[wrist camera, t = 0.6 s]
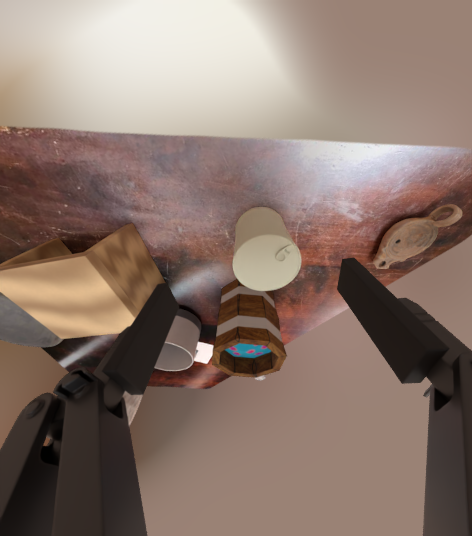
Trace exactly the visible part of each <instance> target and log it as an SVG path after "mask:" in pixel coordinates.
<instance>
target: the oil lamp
mask: <svg viewBox="0 0 472 536" xmlns="http://www.w3.org/2000/svg"><path fill="white" fill-rule="evenodd" d="M449 211H453V214H452V215H451V216H450V217H448V218H447V219H445V220H440V221H436V219H437V218H438V217H439V216H440V215H442V214H443V213H446V212H449ZM461 216H462V210H461V209H460V208H459V207H457V206H456V205H452V204H451V205H450V204H448V205H444V206H441V207H439V208H437V209H436V210H434V211H433V212H432V213H430V214H429V215H428V217H425V218H409V219H405V220H402V221H400V222H398V223H396V224H395V225H393V226H392V227H391V228H390V229H389V230H388V231H387V232H386V233H385V235H384V237H383V238H382V241H381V243H380V246H379V249H378V252H377V254H376V256H375V258H374V260H373V263H374V265H375V267H376V268H378V269H387V268H389V265H390V264H391V263H393V262H396V261H400V262H403V261H404V260H405V259H406V258H409V257H412V256H414V255H417V254H419V253H420V252H422V251H424V250H425V249H426V248H428V247H429V246H430V245H431V244H432V242H433V241H434V240H435V239H436V237H437V234H438V227H445V226H449V225H451V224H453V223H455V222H457V221H458V220H459V219H460V218H461Z"/></svg>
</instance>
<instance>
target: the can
mask: <svg viewBox="0 0 472 536" xmlns="http://www.w3.org/2000/svg"><path fill="white" fill-rule="evenodd" d="M235 236H236V237H235V249H234V257H233V262H232V267H233V272H234V274H235V276H236V278H237V279H238V280H239V281H240V282H241V283H242V284H243V285H245V286H246V287H248V288H250V289H253V290H258V291H271V290H275V289H279V288H281V287H283V286H285V285H287V284H288V283H289V282H291V281H292V280H293V279H294V278H295V276H296V275H297V274H298V272H299V269H300V266H301V254H300V251H299V249H298V247H297V246H296V244H295V243H294V242H293V240H292V238H291V236H290V234H289V233H288V231H287V229H286V227H285V225H284V221H283V219H282V217H281V216H280V215H279V214H278V213H277V212H276V211H274V210H273V209H271V208H267V207H256V208H252V209H250V210H248V211H246V212H245V213H244V214H243V215H242V216H241V217H240V218H239V220H238V221H237V224H236V227H235Z"/></svg>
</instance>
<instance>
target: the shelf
mask: <svg viewBox="0 0 472 536" xmlns="http://www.w3.org/2000/svg"><path fill="white" fill-rule="evenodd" d="M161 283H166V282H165V281H164V279H163V277H162V275H161V273H160V271H159V270H158V268H157V266H156V264H155V262H154V261H153V259H152V257H151V255H150V253H149V252H148V250H147V248H146V246H145V244H144V242H143V241H142V239H141V237H140V235H139V233H138V232H137V230H136V228H135V226H134V224H133V223H131V224H126V225H124V226H123V227H121V228H120V229H118V230H117V231H115V232H114V233H112V234H111V235H109V236H108V237H106V238H105V239H103V240H101V241H100V242H98V243H97V244H95V245H94V246H92V247H91V248H89V249H88V250H86V251H85V252H81V253H76V254H72V253H71V252H70V250H69V249H68V248H67V247H66V246H65V245H64V243H63V242H62V241H61V240H60V239H59V238H55V239H52V240H49V241H47V242H45V243H43V244H41V245H39V246H37V247H35V248H33V249H31V250H29V251H26V252H24V253H22V254H20V255H18V256H16V257H14V258H12V259H10V260H8V261H6V262H4V263H1V264H0V292H1V293H2V294H4V295H5V296H6V297H8V298H9V299H10V300H11V301H13V302H14V303H15V304H17V305H18V306H19V307H21V308H22V309H23V310H24V311H26V312H27V313H28V314H30V315H31V316H32V317H34V318H35V319H36V320H37V321H39V322H40V323H41V324H43V325H44V326H45V327H47V328H48V329H49V330H50V331H52V332H53V333H54V334H56V335H57V336H58V337H60V338H61V339H66V338H75V337H85V336H95V335H105V334H115V333H121V332H122V331H123V330H124V329H125V328H126V327H128V326H131V325H132V323H133V322H134V320H135V318H136V317H137V315H138V314H139V312H140V311H141V309H142V308H143V306H144V305H145V303H146V301H147V300H148V298H149V297H150V295H151V294H152V292H153V291H154V289H155V288H156V286H157V284H161Z"/></svg>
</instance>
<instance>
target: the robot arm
mask: <svg viewBox="0 0 472 536" xmlns="http://www.w3.org/2000/svg"><path fill="white" fill-rule="evenodd" d="M337 290H338V291H339V293H340V294H341V296H342V297H343V298H344V300H345V301H346V303H347V304H348V306H349V307H350V309H351V310H352V311H353V313H354V314H355V316H356V317H357V319H358V320H359V322H360V323H361V325H362V326H363V328H364V329H365V330H366V332H367V333H368V335H369V336H370V338H371V339H372V341H373V342H374V344H375V345H376V347H377V348H378V349H379V351H380V352H381V354H382V355H383V357H384V358H385V360H386V361H387V362H388V364H389V365H390V367H391V368H392V370H393V371H394V373H395V374H396V376H397V377H398V379H399V380H400V381H401V383H402V384H403V383H420V382H422V380H423V379H424V378H425V377H427V378H428V379H429V380H430V381H431V383H432V385H431V386H430V387H429V388H428V389H427V390H426V391H425V393H424V395H423V396H425V397H428V396H429V395H430V405H429V424H428V445H427V465H426V486H425V505H424V526H423V536H472V351H471V350H470V349H469V348H467V347H466V346H465V345H464V344H463V343H462V342H461V341H460V340H458V339H457V338H456V337H455V336H454V335H453V334H452V333H450V332H449V331H448V330H447V329H446V328H445V327H443V326H442V325H441V324H440V323H439V322H438V321H435V319H434V318H433V317H432V316H431V315H430V314H427V312H426V311H425V310H424V309H423V308H422V307H420V306H419V305H418V304H416V303H414V302H413V301H411V300H409V299H407V298H399V299H397V298H396V297H395V296H394V295H393V294H392V293H391V292H390V291H389V290H388V289H387V288H386V287H385V286H383V285H382V284H381V283H380V282H379V281H378V280H377V279H376V278H375V277H374V276H373V275H372V274H371V273H370V272H369V271H368V270H367V269H366V268H365V267H363V266H362V265H361V264H360V263H359V262H358V261H357V260H356V259H355V258H347V259H342V264H341V269H340V275H339V281H338V287H337ZM178 309H179V305H178V303H177V301H176V300H175V298H174V296H173V294H172V292H171V290H170V288H169V286H168V284H167V283H161V284H157V286H156V288H155V289H154V291H153V292H152V294H151V295H150V297H149V298H148V300H147V301H146V303H145V305H144V306H143V308H142V309H141V311H140V312H139V314H138V315H137V317H136V318H135V320H134V322H133V323H132V325H131V326H128V327H126V328H125V329H124V330H123V331H122V332H121V333H120V334H119V336H118V337H117V339H116V340H115V343H113V345H112V346H111V349H109V351H108V352H107V354H106V355H105V357H104V358H103V359H102V361H101V362H100V364H99V365H98V367H97V368H96V370H95V371H94V373H93V374H92V373H91V372H90V371H89V370H87V369H86V368H84V367H80V368H76V369H74V370H72V371H71V372H69V373H68V374H67V375H65V376H64V377H63V378H62V379H61V380H60V381H59V383H58V384H57V385H56V387H55V389H54V392H53V393H55V394H56V395H58V396H55V395H53V394H51V393H44V394H42V395H40V396H38V397H37V398H35V399H34V400H32V401H31V402H30V403H29V404H28V405H27V406H26V407H25V408H24V409H23V410H22V412H21V413H20V415H19V416H18V418H17V420H16V422H15V423H14V425H13V427H12V429H11V431H10V433H9V435H8V437H7V438H6V440H5V442H4V444H3V446H2V448H1V450H0V536H147V531H146V525H145V519H144V513H143V507H142V501H141V494H140V488H139V482H138V476H137V471H136V464H135V458H134V452H133V446H132V440H131V434H130V428H129V422H128V416H127V410H126V404H125V399H124V397H122V396H123V394H124V392H125V391H126V392H127V393H129V394H130V395H143V394H144V391H145V389H146V387H147V384H148V382H149V379H150V377H151V374H152V372H153V370H154V367H155V365H156V362H157V360H158V357H159V355H160V353H161V350H162V348H163V345H164V343H165V341H166V338H167V336H168V333H169V331H170V328H171V326H172V324H173V321H174V319H175V316H176V314H177V311H178ZM46 437H47V438H50V441H49V443H48V445H47V446H43V444H44V441H45V439H46Z"/></svg>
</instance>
